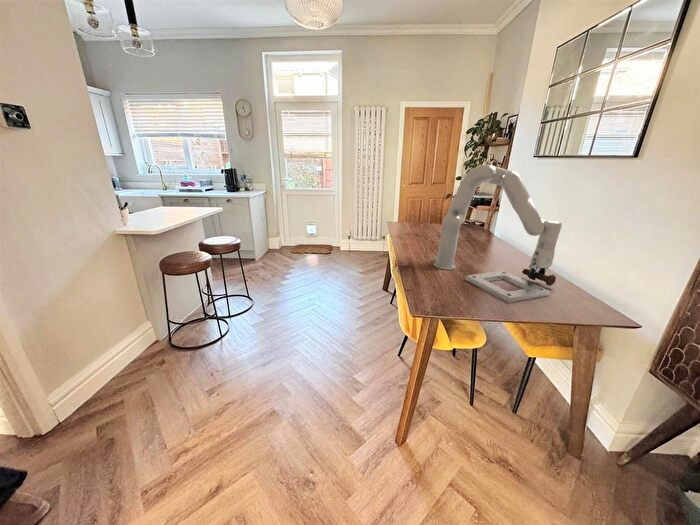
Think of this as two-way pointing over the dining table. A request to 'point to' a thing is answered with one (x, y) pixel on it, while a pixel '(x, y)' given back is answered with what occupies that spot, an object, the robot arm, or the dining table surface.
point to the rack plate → (511, 296)
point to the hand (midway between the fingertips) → (536, 278)
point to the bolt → (542, 277)
